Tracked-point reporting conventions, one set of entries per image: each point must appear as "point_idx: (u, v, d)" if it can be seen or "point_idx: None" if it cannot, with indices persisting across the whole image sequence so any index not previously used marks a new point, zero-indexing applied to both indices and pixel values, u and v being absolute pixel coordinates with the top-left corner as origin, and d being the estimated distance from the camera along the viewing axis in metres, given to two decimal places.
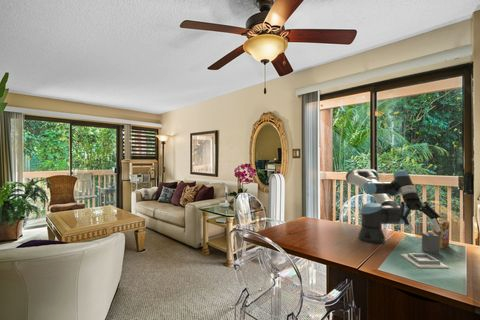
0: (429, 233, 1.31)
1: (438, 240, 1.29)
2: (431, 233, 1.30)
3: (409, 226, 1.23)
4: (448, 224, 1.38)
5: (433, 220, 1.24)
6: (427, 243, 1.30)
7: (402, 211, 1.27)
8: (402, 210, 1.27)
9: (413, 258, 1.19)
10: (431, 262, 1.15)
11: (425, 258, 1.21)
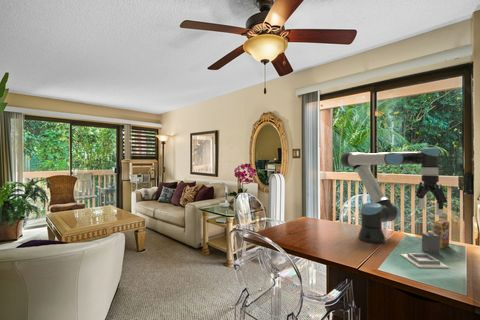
0: (429, 233, 1.31)
1: (438, 240, 1.29)
2: (431, 233, 1.30)
3: (440, 210, 1.24)
4: (448, 224, 1.38)
5: (423, 200, 1.37)
6: (427, 243, 1.30)
7: None
8: None
9: (413, 258, 1.19)
10: (431, 262, 1.15)
11: (425, 258, 1.21)
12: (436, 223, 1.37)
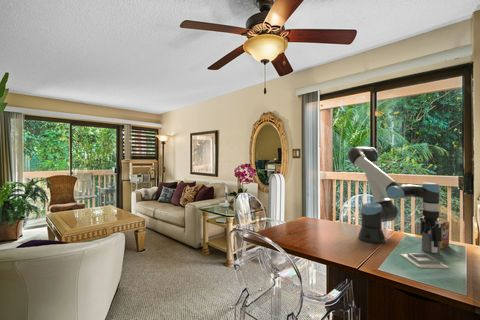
0: (429, 233, 1.31)
1: None
2: (431, 233, 1.30)
3: (435, 248, 1.28)
4: (448, 224, 1.38)
5: None
6: (427, 243, 1.30)
7: None
8: None
9: (413, 258, 1.19)
10: (431, 262, 1.15)
11: (425, 258, 1.21)
12: None
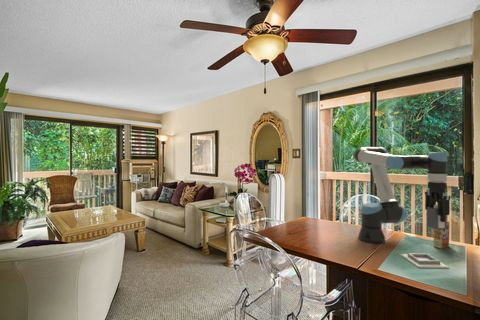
0: (435, 207, 1.19)
1: None
2: (437, 207, 1.18)
3: (442, 223, 1.16)
4: (448, 224, 1.38)
5: None
6: (433, 218, 1.18)
7: None
8: None
9: (413, 258, 1.19)
10: (431, 262, 1.15)
11: (425, 258, 1.21)
12: None
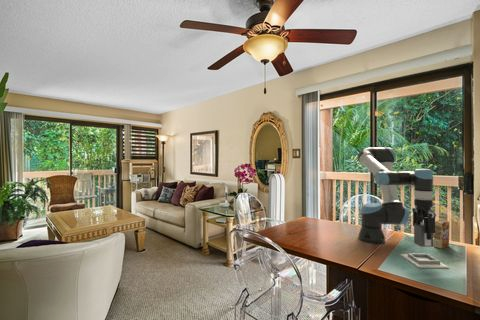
0: (422, 224, 1.18)
1: None
2: None
3: (428, 241, 1.16)
4: (448, 224, 1.38)
5: None
6: (419, 235, 1.17)
7: None
8: None
9: (413, 258, 1.19)
10: (431, 262, 1.15)
11: (425, 258, 1.21)
12: (436, 223, 1.37)
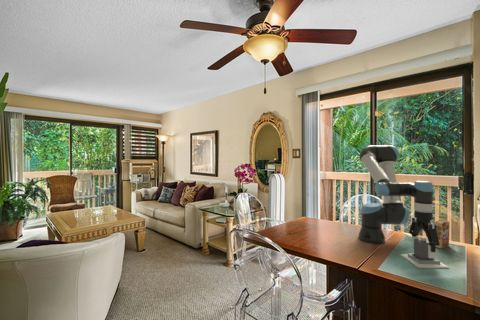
0: (422, 240, 1.19)
1: None
2: (424, 240, 1.18)
3: (432, 253, 1.13)
4: (448, 224, 1.38)
5: (416, 238, 1.25)
6: (419, 251, 1.18)
7: None
8: None
9: (413, 258, 1.19)
10: (431, 262, 1.15)
11: None
12: (436, 223, 1.37)
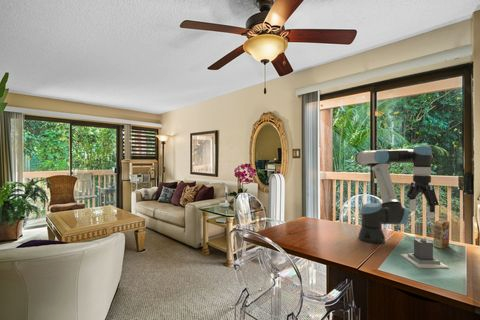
0: (422, 240, 1.19)
1: (431, 247, 1.17)
2: (424, 240, 1.18)
3: (431, 214, 1.15)
4: (448, 224, 1.38)
5: (414, 201, 1.28)
6: (419, 251, 1.18)
7: None
8: None
9: (413, 258, 1.19)
10: (431, 262, 1.15)
11: None
12: (436, 223, 1.37)
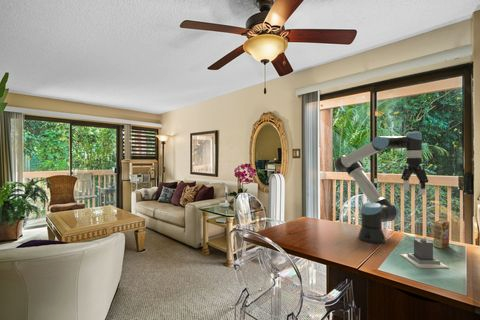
0: (422, 240, 1.19)
1: (431, 247, 1.17)
2: (424, 240, 1.18)
3: (422, 190, 1.32)
4: (448, 224, 1.38)
5: (407, 182, 1.45)
6: (419, 251, 1.18)
7: None
8: None
9: (413, 258, 1.19)
10: (431, 262, 1.15)
11: None
12: (436, 223, 1.37)
